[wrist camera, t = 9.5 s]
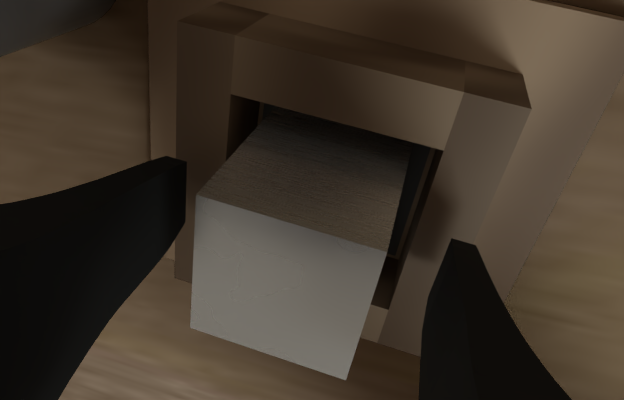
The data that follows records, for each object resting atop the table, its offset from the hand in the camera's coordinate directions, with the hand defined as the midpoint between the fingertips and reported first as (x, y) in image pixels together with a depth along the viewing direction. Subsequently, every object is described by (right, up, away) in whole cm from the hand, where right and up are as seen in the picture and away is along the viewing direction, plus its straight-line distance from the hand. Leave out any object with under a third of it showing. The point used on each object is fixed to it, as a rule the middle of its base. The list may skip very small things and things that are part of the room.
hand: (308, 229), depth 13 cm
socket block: (+1, +2, +3) cm, 4 cm away
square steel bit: (+1, +2, +3) cm, 3 cm away
